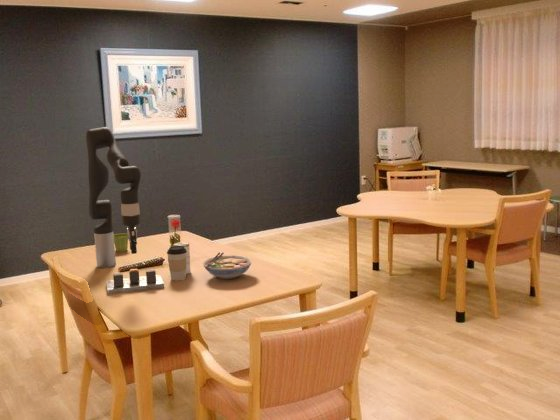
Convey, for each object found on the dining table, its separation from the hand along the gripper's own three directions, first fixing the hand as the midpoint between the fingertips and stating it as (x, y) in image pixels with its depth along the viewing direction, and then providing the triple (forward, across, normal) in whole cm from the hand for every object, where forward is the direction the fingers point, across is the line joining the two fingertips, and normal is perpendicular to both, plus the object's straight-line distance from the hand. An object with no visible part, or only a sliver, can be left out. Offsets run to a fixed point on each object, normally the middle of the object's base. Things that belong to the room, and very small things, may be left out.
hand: (133, 251), depth 254 cm
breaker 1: (+16, -4, -7) cm, 18 cm away
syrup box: (+18, -19, +23) cm, 35 cm away
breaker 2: (+16, -4, +7) cm, 18 cm away
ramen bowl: (+18, -4, +42) cm, 46 cm away
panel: (+18, -6, 0) cm, 19 cm away
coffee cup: (+18, -12, +20) cm, 29 cm away
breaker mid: (+16, -6, 0) cm, 17 cm away
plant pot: (+18, -76, -2) cm, 78 cm away
